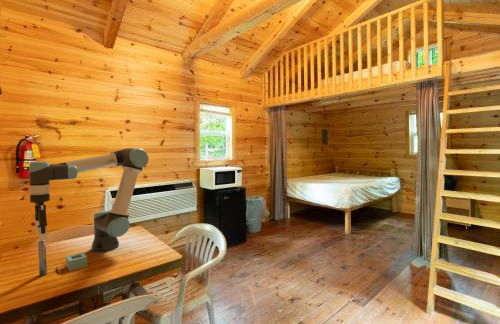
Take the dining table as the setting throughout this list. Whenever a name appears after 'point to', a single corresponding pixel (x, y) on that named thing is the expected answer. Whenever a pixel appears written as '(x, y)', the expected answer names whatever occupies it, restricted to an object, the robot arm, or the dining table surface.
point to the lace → (58, 270)
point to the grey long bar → (42, 258)
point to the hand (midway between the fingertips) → (41, 236)
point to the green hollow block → (76, 261)
